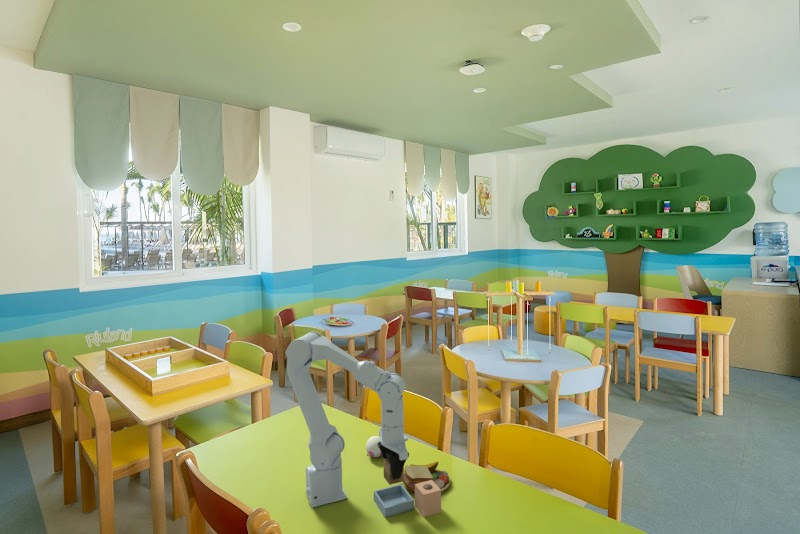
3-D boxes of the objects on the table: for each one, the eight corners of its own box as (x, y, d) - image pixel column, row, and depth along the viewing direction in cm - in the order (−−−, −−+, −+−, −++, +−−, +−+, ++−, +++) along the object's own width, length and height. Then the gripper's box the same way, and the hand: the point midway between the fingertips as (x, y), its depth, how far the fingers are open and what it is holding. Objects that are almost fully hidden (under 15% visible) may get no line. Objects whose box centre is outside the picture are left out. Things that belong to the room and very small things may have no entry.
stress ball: (380, 471, 140) (392, 455, 139) (359, 457, 140) (370, 440, 139) (382, 457, 147) (394, 442, 146) (362, 444, 147) (373, 428, 146)
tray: (384, 517, 112) (384, 508, 112) (373, 499, 120) (373, 491, 120) (414, 509, 116) (413, 500, 115) (401, 492, 123) (401, 483, 123)
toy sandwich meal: (454, 495, 122) (454, 479, 121) (404, 499, 121) (404, 482, 120) (445, 470, 134) (445, 455, 134) (400, 473, 133) (400, 457, 133)
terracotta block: (423, 517, 113) (423, 494, 112) (414, 506, 117) (414, 484, 117) (441, 512, 115) (441, 489, 114) (431, 501, 119) (431, 479, 119)
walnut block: (389, 484, 115) (389, 465, 114) (383, 476, 118) (383, 458, 118) (403, 481, 116) (403, 462, 116) (397, 473, 120) (397, 455, 119)
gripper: (419, 431, 111) (419, 484, 112) (395, 409, 124) (396, 457, 125) (392, 437, 108) (393, 491, 109) (371, 414, 121) (372, 462, 122)
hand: (393, 473), depth 117 cm, fingers closed on walnut block, 4 cm apart
